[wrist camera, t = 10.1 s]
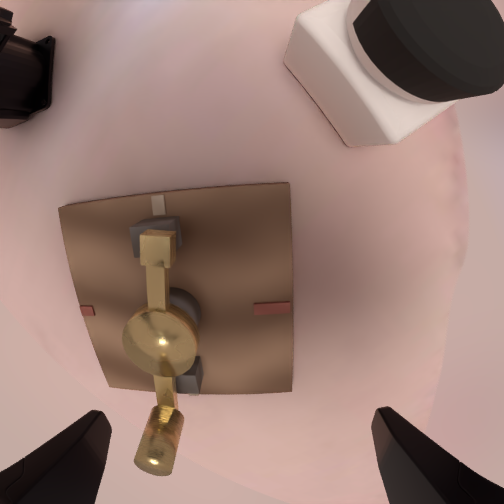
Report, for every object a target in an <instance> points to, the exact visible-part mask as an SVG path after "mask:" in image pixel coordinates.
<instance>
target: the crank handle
mask: <svg viewBox="0 0 504 504" xmlns="http://www.w3.org/2000/svg"><path fill="white" fill-rule="evenodd" d="M175 261H176V231H165V230H152V229H147V230H146V231H144V232H143V233H142V234H140V264H141V265H144V266H146V281H147V299H148V303H146V304H144V305H142V306H141V307H139V308H138V309H137V310H136V312H135V313H134V314H133V316H132V317H131V319H130V320H129V321H128V323H127V324H126V326H125V327H124V330H123V333H122V343H123V347H124V350H125V352H126V354H127V355H128V357H129V358H130V359H131V361H132V362H133V363H134V364H135V365H137V366H138V367H139V368H141V369H142V370H144V371H145V372H147V373H150V374H152V375H153V376H154V383H155V390H156V397H157V403H158V406H155V407H153V408H152V410H151V413H150V416H149V419H148V421H147V424H146V427H145V430H144V433H143V435H142V439H141V441H140V444H139V447H138V450H137V452H136V456H135V458H134V463H135V465H136V466H137V467H138V468H140V469H141V470H143V471H145V472H147V473H150V474H152V475H157V476H168V475H170V474H171V473H172V469H173V465H174V461H175V457H176V452H177V448H178V444H179V440H180V436H181V431H182V427H183V423H184V416H183V415H182V413H181V412H180V411H178V401H177V390H176V379H175V376H179V375H182V374H183V373H185V372H187V371H188V370H189V369H190V368H191V366H192V365H193V363H194V360H195V356H196V353H197V349H198V346H199V342H200V334H199V330H198V327H197V325H196V323H195V321H194V320H193V319H192V317H191V316H190V315H189V314H188V313H187V312H186V311H184V310H183V309H181V308H180V307H178V306H176V305H173V304H171V303H170V296H169V268H171V266H172V265H173V263H174V262H175Z"/></svg>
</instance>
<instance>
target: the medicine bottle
mask: <svg viewBox="0 0 504 504" xmlns="http://www.w3.org/2000/svg"><path fill="white" fill-rule="evenodd" d="M284 64H285V65H286V66H287V68H288V69H289V70H290V71H291V72H292V73H293V75H294V76H295V77H296V78H297V80H298V81H299V82H300V83H301V84H302V86H303V87H304V88H305V89H306V91H307V92H308V93H309V95H310V96H311V97H312V98H313V100H314V101H315V102H316V104H317V105H318V106H319V108H320V109H321V110H322V112H323V113H324V114H325V116H326V117H327V118H328V120H329V121H330V123H331V124H332V125H333V127H334V128H335V130H336V131H337V132H338V134H339V135H340V137H341V138H342V140H343V141H344V143H345V144H346V145H347V146H348V147H360V146H375V145H394V144H397V143H399V142H400V141H402V140H403V139H405V138H406V137H407V136H409V135H410V134H412V133H413V132H414V131H416V130H417V129H419V128H420V127H422V126H423V125H424V124H426V123H427V122H429V121H430V120H431V119H433V118H434V117H436V116H437V115H439V114H440V113H441V112H443V111H444V110H446V109H447V108H448V107H450V106H451V105H453V104H454V103H456V102H457V101H458V100H460V99H463V98H468V97H474V96H480V95H486V94H491V93H493V92H495V91H497V90H498V89H499V88H501V87H502V85H503V84H504V22H503V20H502V17H501V16H500V14H499V12H498V10H497V9H496V7H495V5H494V4H493V2H492V1H491V0H327V1H325V2H323V3H321V4H319V5H316V6H314V7H312V8H310V9H308V10H306V11H304V12H302V13H300V14H299V15H298V16H297V17H296V20H295V24H294V27H293V30H292V34H291V37H290V40H289V44H288V47H287V50H286V54H285V57H284Z"/></svg>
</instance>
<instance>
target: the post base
mask: <svg viewBox="0 0 504 504" xmlns="http://www.w3.org/2000/svg"><path fill="white" fill-rule="evenodd" d="M58 211H59V218H60V223H61V229H62V234H63V240H64V245H65V249H66V254H67V259H68V263H69V267H70V271H71V275H72V279H73V283H74V287H75V291H76V294H77V298H78V301H79V305H80V310H81V313H82V316H83V318H84V321H85V324H86V327H87V330H88V333H89V336H90V339H91V341H92V344H93V347H94V350H95V352H96V355H97V358H98V360H99V363H100V365H101V368H102V370H103V373H104V375H105V378H106V380H107V382H108V385H109V387H112V388H120V389H129V390H139V391H150V392H156V390H155V383H154V376H153V375H152V374H150V373H147V372H145V371H144V370H142V369H141V368H139V367H138V366H137V365H135V364H134V363H133V362H132V361H131V359H130V358H129V357H128V355H127V354H126V352H125V350H124V347H123V343H122V333H123V330H124V327H125V326H126V324H127V323H128V321H129V320H130V319H131V317H132V316H133V314H134V313H135V312H136V310H137V309H138V308H139V307H141V306H142V305H144V304H146V303H148V299H147V281H146V266H144V265H141V264H140V234H142V233H143V232H144V231H146V230H147V229H152V230H165V231H176V261H175V262H174V263H173V265H172V266H171V268H169V296H170V303H171V304H173V305H176V306H178V307H180V308H181V309H183V310H184V311H186V312H187V313H188V314H189V315H190V316H191V317H192V319H193V320H194V321H195V323H196V325H197V327H198V330H199V334H200V342H199V346H198V349H197V353H196V356H195V360H194V363H193V365H192V366H191V368H190V369H189V370H188V371H187V372H185V373H183V374H182V375H179V376H175V379H176V390H177V393H182V394H189V395H191V396H198V395H199V394H263V393H281V392H292V370H293V268H292V226H291V198H290V184H289V183H288V182H282V183H262V184H245V185H230V186H217V187H205V188H193V189H183V190H173V191H164V192H155V193H146V194H138V195H130V196H123V197H115V198H108V199H101V200H95V201H88V202H82V203H76V204H70V205H65V206H62V207H59V208H58Z"/></svg>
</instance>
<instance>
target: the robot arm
mask: <svg viewBox="0 0 504 504" xmlns="http://www.w3.org/2000/svg"><path fill="white" fill-rule="evenodd" d="M12 17H13V12H11V11H9V10H7V9H4V8H2V7H0V128H11V127H13V126H15V125H17V124H20V123H22V122H24V121H27V120H28V119H29V118H30V116H31V115H33V114H35V113H38V112H40V111H43V110H45V109H47V108H48V107H49V106H50V104H51V81H52V65H53V53H54V44H55V38H54V37H52V36H48V37H46V38H44V39H42V40H40V41H38V42H36V43H35V42H32V41H30V40H27V39H24V38H22V37H19V36H16V35H14V33H15V32H16V30H17V29H16V28H15V27H14V26H12V25H11V24H12ZM49 41H50V42H49ZM48 42H49V43H48ZM45 101H46V102H45ZM44 102H45V105H44ZM371 429H372V435H373V440H374V445H375V451H376V456H377V462H378V467H379V470H380V474H381V477H382V480H383V483H384V487H385V490H386V493H387V497H388V500H389V503H390V504H504V488H503V487H500V486H499V485H497V484H495V483H493V482H491V481H489V480H487V479H486V478H484V477H482V476H480V475H479V474H477V473H476V472H474V471H473V470H471V469H470V468H468V467H467V466H466V465H465V464H463V463H462V462H460V463H459V460H458V459H456V458H455V457H454V456H452V455H451V454H450V453H448V452H447V451H445V450H444V449H443V448H442V447H440V446H439V445H438V444H437V443H435V442H434V441H433V440H431V439H430V438H429V437H427V436H426V435H425V434H424V433H422V432H421V431H420V430H418V429H417V428H416V427H415V426H413V425H412V424H411V423H410V422H408V421H407V420H406V419H404V418H403V417H402V416H401V415H399V414H398V413H397V412H396V411H394V410H393V409H392V408H391V407H388V406H386V407H381V408H378V409H377V410H376V411H375V415H374V418H373V421H372V425H371ZM111 433H112V429H111V425H110V423H109V421H108V420H107V418H106V416H105V414H104V413H103V412H102V411H98V410H91V411H90V412H88V413H87V414H86V415H84V416H83V417H81V418H80V419H78V420H77V421H76V422H74V423H73V424H71V425H70V426H69V427H67V428H66V429H65V430H63V431H62V432H60V433H59V434H57V435H56V436H55V437H53V438H52V439H50V440H49V441H47V442H46V443H44V444H43V445H41V446H40V447H39V448H37V449H36V450H34V451H33V452H31V453H30V454H28V455H27V456H25V458H22V459H21V460H19V461H18V462H16V463H15V464H13V465H12V466H10V467H8V468H7V469H5V470H3V471H1V472H0V504H95V500H96V496H97V493H98V489H99V486H100V482H101V479H102V475H103V472H104V469H105V464H106V460H107V453H108V448H109V443H110V437H111Z"/></svg>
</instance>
